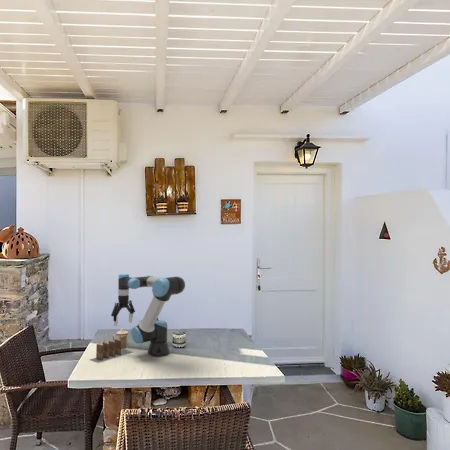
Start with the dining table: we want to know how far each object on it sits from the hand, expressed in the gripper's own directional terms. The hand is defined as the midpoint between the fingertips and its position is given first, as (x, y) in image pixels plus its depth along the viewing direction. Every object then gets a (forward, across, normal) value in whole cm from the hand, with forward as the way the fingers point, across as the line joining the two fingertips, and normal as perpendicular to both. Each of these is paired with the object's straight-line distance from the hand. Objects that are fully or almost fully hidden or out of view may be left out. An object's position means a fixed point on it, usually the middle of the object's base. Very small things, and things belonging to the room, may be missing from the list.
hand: (123, 324), depth 308 cm
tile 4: (+18, +21, +7) cm, 29 cm away
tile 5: (+18, +26, +7) cm, 32 cm away
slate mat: (+19, +16, +7) cm, 26 cm away
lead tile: (+18, 0, 0) cm, 19 cm away
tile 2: (+18, +11, +7) cm, 22 cm away
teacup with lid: (+19, -7, -12) cm, 23 cm away
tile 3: (+18, +16, +7) cm, 25 cm away
